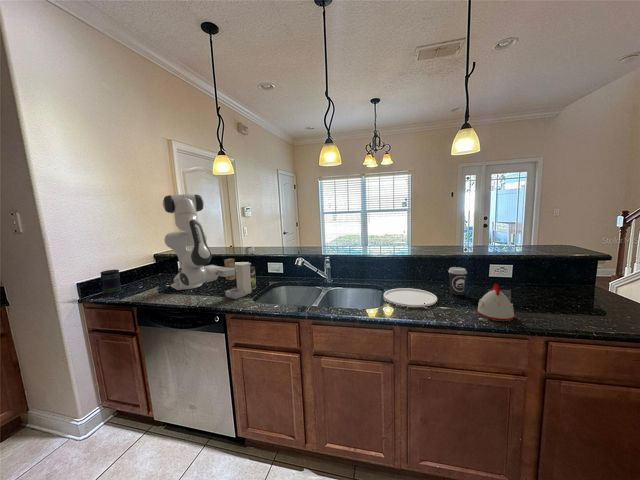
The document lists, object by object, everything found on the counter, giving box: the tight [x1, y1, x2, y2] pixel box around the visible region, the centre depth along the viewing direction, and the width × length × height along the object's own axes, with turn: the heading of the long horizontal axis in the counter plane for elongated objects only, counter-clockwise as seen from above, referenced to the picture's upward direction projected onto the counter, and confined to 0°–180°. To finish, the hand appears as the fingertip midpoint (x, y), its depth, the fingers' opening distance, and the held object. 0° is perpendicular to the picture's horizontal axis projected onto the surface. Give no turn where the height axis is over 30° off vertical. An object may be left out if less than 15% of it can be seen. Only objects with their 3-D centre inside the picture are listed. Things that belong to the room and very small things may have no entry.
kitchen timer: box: [477, 283, 515, 320], centre depth 120 cm, size 14×14×15 cm
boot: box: [225, 261, 252, 300], centre depth 162 cm, size 9×14×19 cm, turn 147°
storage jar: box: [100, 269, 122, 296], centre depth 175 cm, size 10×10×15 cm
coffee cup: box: [448, 266, 468, 295], centre depth 151 cm, size 10×10×15 cm
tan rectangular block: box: [223, 258, 237, 281], centre depth 159 cm, size 4×4×12 cm
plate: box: [383, 287, 438, 307], centre depth 146 cm, size 28×28×2 cm
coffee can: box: [250, 265, 257, 291], centre depth 176 cm, size 10×10×14 cm
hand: (231, 268), depth 160 cm, fingers closed on tan rectangular block, 4 cm apart
